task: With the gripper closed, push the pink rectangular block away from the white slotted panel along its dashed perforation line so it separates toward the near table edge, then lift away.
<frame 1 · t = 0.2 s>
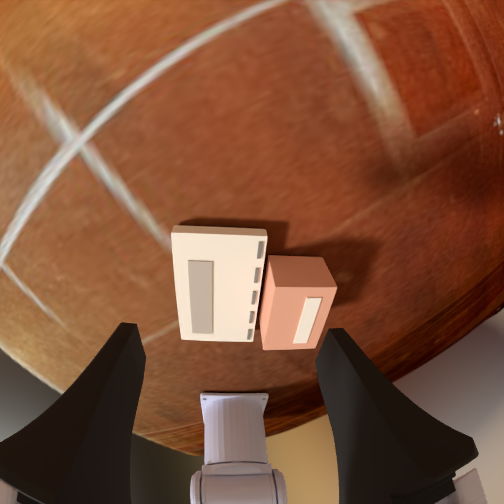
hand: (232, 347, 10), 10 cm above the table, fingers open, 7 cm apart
pink rectangular block: (293, 305, 19), point 2 cm above the table, slide at 0.0 cm
white slotted panel: (217, 287, 20), on the table
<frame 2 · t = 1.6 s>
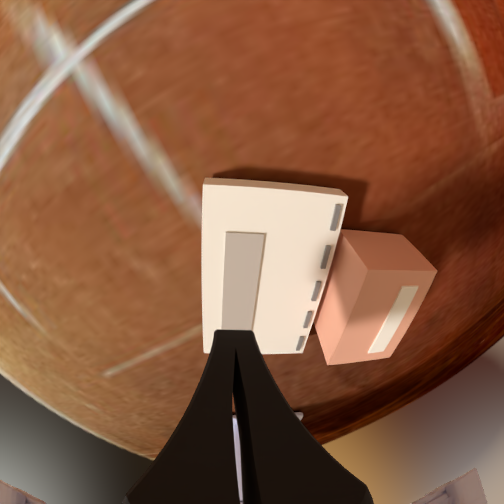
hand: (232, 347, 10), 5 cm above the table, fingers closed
pink rectangular block: (369, 299, 13), point 2 cm above the table, slide at 0.0 cm
white slotted panel: (262, 277, 14), on the table
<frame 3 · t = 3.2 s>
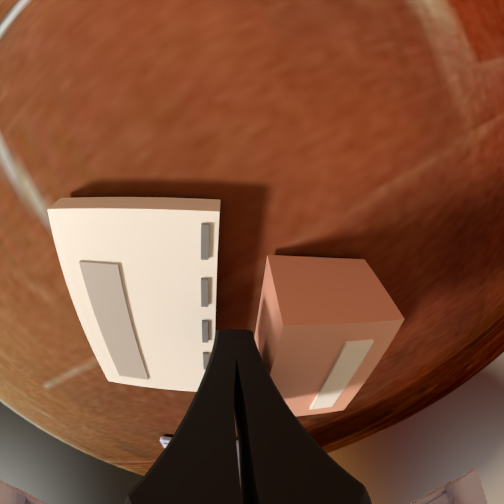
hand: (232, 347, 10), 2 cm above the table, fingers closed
pink rectangular block: (312, 346, 10), point 2 cm above the table, slide at 1.4 cm, touching gripper
white slotted panel: (146, 309, 11), on the table
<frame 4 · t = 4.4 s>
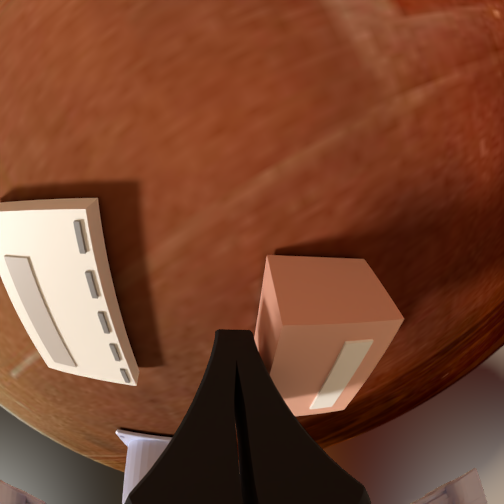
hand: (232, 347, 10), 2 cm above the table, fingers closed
pink rectangular block: (312, 345, 10), point 2 cm above the table, slide at 5.7 cm, touching gripper
white slotted panel: (64, 300, 11), on the table
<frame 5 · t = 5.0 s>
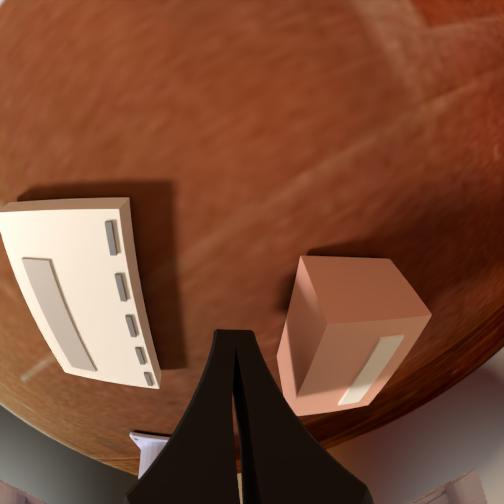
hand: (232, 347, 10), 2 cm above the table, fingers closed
pink rectangular block: (341, 343, 10), point 2 cm above the table, slide at 5.7 cm
white slotted panel: (85, 303, 11), on the table
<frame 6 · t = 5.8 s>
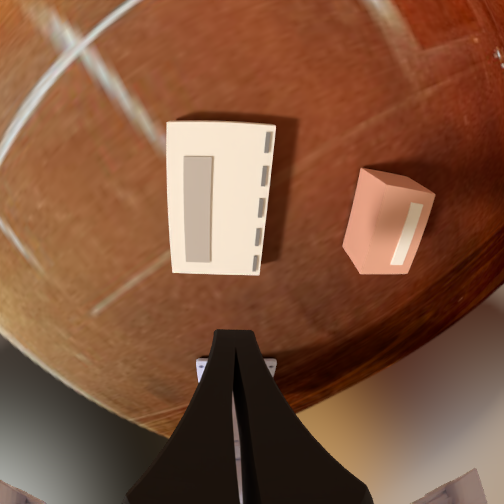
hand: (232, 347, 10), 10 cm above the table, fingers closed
pink rectangular block: (387, 222, 17), point 2 cm above the table, slide at 5.7 cm
white slotted panel: (217, 199, 17), on the table
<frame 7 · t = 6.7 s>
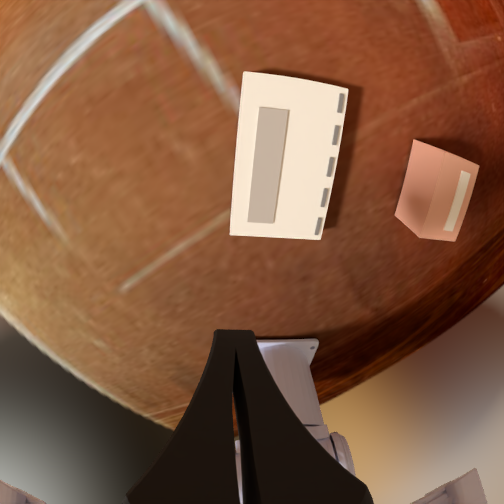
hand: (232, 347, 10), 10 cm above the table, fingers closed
pink rectangular block: (437, 191, 16), point 2 cm above the table, slide at 5.7 cm
white slotted panel: (284, 157, 16), on the table
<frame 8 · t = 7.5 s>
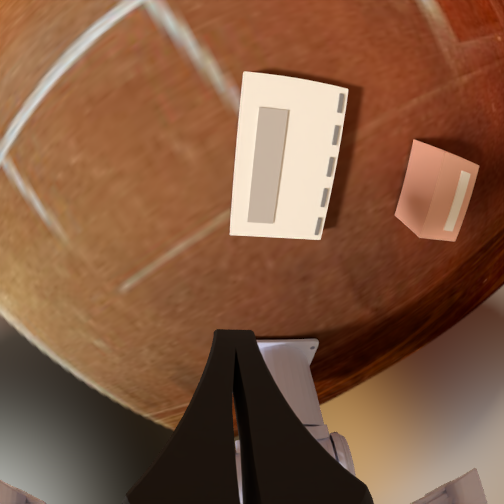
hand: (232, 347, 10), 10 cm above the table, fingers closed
pink rectangular block: (437, 191, 16), point 2 cm above the table, slide at 5.7 cm
white slotted panel: (284, 157, 16), on the table
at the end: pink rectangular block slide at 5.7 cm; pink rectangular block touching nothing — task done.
